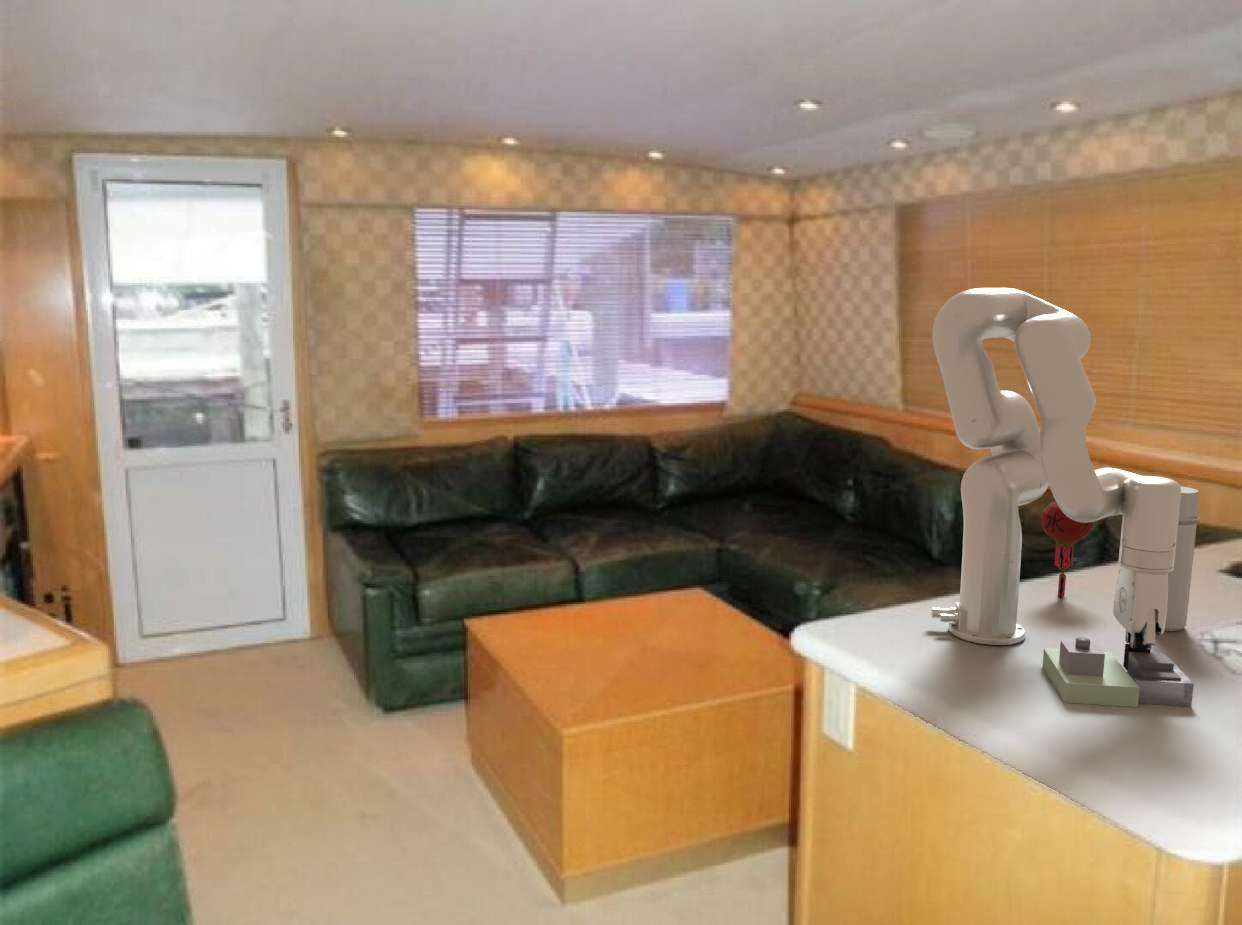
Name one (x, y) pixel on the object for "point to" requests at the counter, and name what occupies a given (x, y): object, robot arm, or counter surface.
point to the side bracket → (1166, 690)
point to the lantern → (1063, 538)
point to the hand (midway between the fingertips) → (1135, 669)
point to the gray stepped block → (1151, 666)
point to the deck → (1089, 675)
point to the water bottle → (1182, 561)
